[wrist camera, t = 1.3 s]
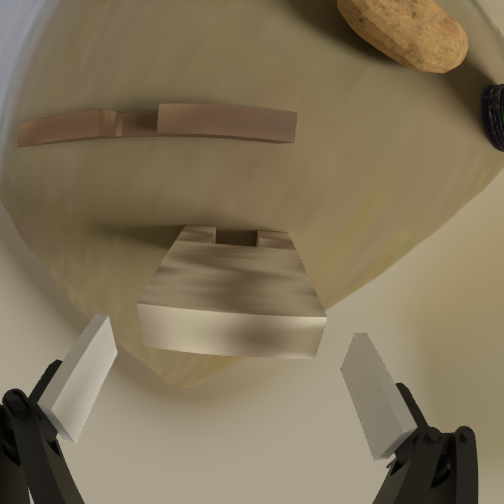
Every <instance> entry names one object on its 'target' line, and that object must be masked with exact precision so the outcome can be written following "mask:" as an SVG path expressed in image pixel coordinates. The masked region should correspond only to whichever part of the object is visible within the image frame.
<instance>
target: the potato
mask: <svg viewBox="0 0 504 504" xmlns="http://www.w3.org/2000/svg"><path fill="white" fill-rule="evenodd" d="M337 9H338V10H339V11H340V13H341V14H342V16H343V17H344V19H345V20H346V22H347V23H348V25H349V26H350V27H351V28H352V29H353V30H354V31H355V32H356V33H357V34H358V35H359V36H360V37H361V38H363V39H364V40H365V41H367V42H368V43H370V44H371V45H372V46H374V47H375V48H377V49H378V50H379V51H381V52H383V53H384V54H386V55H387V56H389V57H390V58H392V59H393V60H395V61H397V62H398V63H400V64H402V65H403V66H405V67H406V68H409V69H413V70H416V71H419V72H434V73H445V72H447V71H449V70H451V69H453V68H455V67H456V66H458V65H460V64H461V63H462V61H463V60H464V59H465V56H466V53H467V51H468V40H467V36H466V33H465V31H464V30H463V29H462V27H461V26H460V24H459V23H458V22H457V21H456V20H455V19H454V18H453V17H452V16H451V15H450V14H449V13H447V12H446V11H445V10H444V9H443V8H442V7H440V6H439V5H438V4H437V3H435V2H434V1H433V0H337Z"/></svg>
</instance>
